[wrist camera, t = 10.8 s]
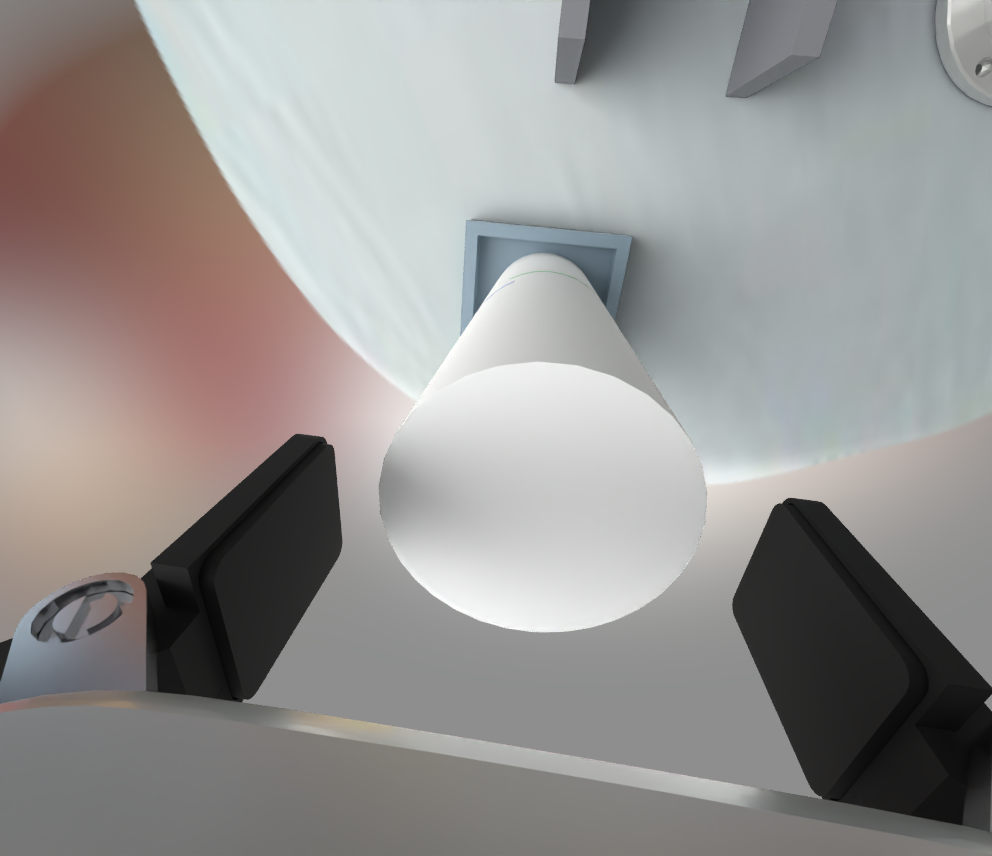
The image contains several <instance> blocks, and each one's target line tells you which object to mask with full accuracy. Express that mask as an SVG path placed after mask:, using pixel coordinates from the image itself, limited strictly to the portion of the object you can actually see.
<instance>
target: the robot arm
mask: <svg viewBox="0 0 992 856" xmlns="http://www.w3.org/2000/svg"><path fill="white" fill-rule="evenodd" d="M935 26H936V42H937V46H938V50H939V53H940V57H941V60H942V64H943V66H944V68H945V69H946V71H947V73H948V74H949V76H950V78H951V79H952V81H953V83H954V84H955V85H957V86H958V87H959V88H960V89H961V90H962V91H963V92H964V93H965V94H966V95H967V96H969V97H971V98H973V99H975V100H977V101H979V102H981V103H983V104H985V105H989V106H992V0H937V4H936V13H935ZM341 548H342V533H341V520H340V509H339V498H338V487H337V475H336V465H335V453H334V448H333V446H332V445H329V444H327V442H326V440H325V438H323V437H319V436H311V435H304V434H295V435H294V436H292V437H291V438H290V439H289V440H288V441H287V442H286V443H284V445H282V446H281V447H280V448H279V449H278V450H277V451H276V452H274V453H273V454H272V455H271V456H270V457H269V458H268V459H267V460H265V461H264V462H263V463H262V464H261V465H260V466H259V467H258V468H256V469H255V470H254V471H253V472H252V473H251V474H250V475H249V476H247V477H246V478H245V479H244V480H243V481H242V482H241V483H240V484H238V486H236V487H235V488H234V489H233V490H232V491H231V492H229V493H228V494H227V495H226V496H225V497H224V498H223V499H222V500H220V501H219V502H218V503H217V504H216V505H215V506H214V507H213V508H212V509H210V510H209V511H208V512H207V513H206V514H205V515H204V516H203V517H201V518H200V519H199V520H198V521H197V522H196V523H195V524H194V525H192V526H191V527H190V528H189V529H188V530H187V531H186V532H185V533H184V534H183V535H181V536H180V537H179V538H178V539H177V540H176V541H175V542H174V543H172V544H171V545H170V546H169V547H168V548H167V549H165V550H164V551H163V552H162V553H161V554H160V555H159V556H158V557H157V558H155V559H154V560H153V561H152V562H151V566H152V569H151V570H150V571H148V572H147V573H146V574H145V575H144V576H143V577H142V578H141V579H140V578H138V577H137V576H135V575H131V574H127V573H105V574H100V575H95V576H90V577H87V578H84V579H81V580H78V581H76V582H73V583H70V584H68V585H66V586H64V587H62V588H60V589H58V590H56V591H54V592H53V593H51V594H49V595H48V596H46V597H45V598H44V599H42V600H41V601H39V602H38V603H37V604H35V605H34V606H33V607H32V608H31V609H30V610H29V611H28V612H27V613H26V614H25V615H24V616H23V617H22V619H21V621H20V623H19V625H18V626H17V628H16V630H15V633H14V637H13V638H12V639H9V640H7V641H4V642H1V643H0V856H992V711H991V710H990V709H989V708H988V707H987V706H986V704H985V703H984V702H985V701H986V700H987V699H988V698H989V697H990V695H991V694H992V687H991V686H990V685H989V684H988V683H987V682H986V681H985V680H984V679H983V677H982V676H981V675H980V674H979V673H978V672H977V671H976V670H975V669H974V667H973V666H972V665H971V664H970V663H969V662H968V661H967V660H966V659H965V658H964V657H963V655H962V654H961V653H960V652H959V651H958V650H957V649H956V648H955V647H954V646H953V645H952V643H951V642H950V641H949V640H948V639H947V638H946V637H945V636H944V635H943V634H942V632H941V631H940V630H939V629H938V628H937V627H936V626H935V625H934V624H933V623H932V621H931V620H929V618H928V617H927V616H926V615H925V614H924V613H923V612H922V610H921V609H920V608H919V607H918V606H917V605H916V604H915V603H914V602H913V601H912V600H911V598H910V597H909V596H908V595H907V594H906V593H905V592H904V591H903V590H902V588H901V587H900V586H899V585H898V584H897V583H896V582H895V581H894V580H893V579H892V578H891V576H890V575H889V574H888V573H887V572H886V571H885V570H884V569H883V568H882V567H881V565H880V564H879V563H878V562H877V561H876V560H875V559H874V558H873V557H872V556H871V554H869V552H868V551H867V550H866V549H865V548H864V547H863V546H862V545H861V544H860V542H859V541H858V540H857V539H856V538H855V537H854V536H853V535H852V534H851V533H850V531H849V530H848V529H847V528H846V527H845V526H844V525H843V524H842V523H841V522H840V520H839V519H838V518H837V517H836V516H835V515H834V514H833V513H832V512H831V511H830V509H829V508H828V507H827V506H826V505H825V504H823V503H822V502H818V501H811V500H803V499H796V498H788V499H786V500H785V501H784V502H783V503H782V504H777V505H776V506H774V508H773V510H772V512H771V514H770V516H769V519H768V521H767V523H766V525H765V528H764V530H763V533H762V535H761V537H760V539H759V541H758V544H757V546H756V548H755V550H754V552H753V555H752V557H751V559H750V562H749V564H748V566H747V568H746V570H745V573H744V575H743V577H742V579H741V582H740V584H739V586H738V589H737V591H736V593H735V596H734V598H733V605H732V606H733V613H734V616H735V619H736V621H737V623H738V626H739V628H740V630H741V632H742V635H743V637H744V639H745V641H746V644H747V645H748V648H749V650H750V652H751V655H752V657H753V659H754V662H755V664H756V666H757V668H758V671H759V673H760V675H761V677H762V680H763V682H764V684H765V686H766V689H767V691H768V693H769V695H770V698H771V700H772V702H773V704H774V707H775V709H776V711H777V713H778V716H779V718H780V720H781V722H782V725H783V727H784V729H785V732H786V734H787V736H788V738H789V741H790V743H791V745H792V747H793V750H794V752H795V754H796V756H797V759H798V761H799V763H800V765H801V768H802V770H803V772H804V774H805V777H806V779H807V781H808V783H809V785H810V787H811V789H812V790H813V791H814V792H815V793H816V794H817V795H819V796H822V799H818V798H812V797H807V796H801V795H795V794H789V793H783V792H778V791H772V790H766V789H761V788H755V787H749V786H744V785H738V784H732V783H726V782H721V781H715V780H709V779H703V778H698V777H692V776H686V775H681V774H675V773H669V772H663V771H658V770H652V769H646V768H640V767H633V766H628V765H622V764H616V763H610V762H605V761H599V760H593V759H587V758H580V757H575V756H569V755H563V754H557V753H551V752H545V751H539V750H534V749H528V748H522V747H515V746H510V745H504V744H498V743H492V742H486V741H480V740H474V739H468V738H462V737H456V736H450V735H444V734H438V733H431V732H425V731H419V730H413V729H407V728H401V727H395V726H389V725H382V724H376V723H370V722H364V721H358V720H351V719H346V718H339V717H333V716H327V715H321V714H315V713H309V712H303V711H297V710H290V709H283V708H276V707H269V706H262V705H255V704H248V703H242V701H243V699H247V700H248V699H250V698H252V697H253V696H254V695H255V693H256V692H257V691H258V689H259V687H260V686H261V684H262V682H263V681H264V679H265V678H266V676H267V674H268V673H269V671H270V669H271V668H272V666H273V664H274V663H275V661H276V659H277V658H278V656H279V654H280V653H281V651H282V650H283V648H284V646H285V645H286V643H287V641H288V640H289V638H290V636H291V635H292V633H293V631H294V630H295V628H296V626H297V625H298V623H299V621H300V620H301V618H302V617H303V615H304V613H305V611H306V610H307V608H308V607H309V605H310V603H311V602H312V600H313V598H314V597H315V595H316V593H317V592H318V590H319V589H320V587H321V585H322V583H323V582H324V580H325V579H326V577H327V575H328V574H329V572H330V570H331V569H332V567H333V565H334V563H335V562H336V560H337V559H338V557H339V555H340V552H341Z"/></svg>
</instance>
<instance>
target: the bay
mask: <svg viewBox="0 0 992 856" xmlns="http://www.w3.org/2000/svg"><path fill="white" fill-rule="evenodd" d="M836 3H837V0H750V2H749V5H748V9H747V13H746V17H745V21H744V25H743V29H742V33H741V37H740V41H739V45H738V49H737V53H736V57H735V61H734V65H733V69H732V73H731V77H730V80H729V84H728V88H727V92H726V96H727V97H739V98H747V97H749V96H751V95H752V94H754V93H756V92H758V91H760V90H761V89H763V88H765V87H767V86H768V85H770V84H772V83H774V82H776V81H777V80H779V79H781V78H783V77H785V76H786V75H788V74H790V73H792V72H794V71H795V70H797V69H799V68H801V67H803V66H804V65H806V64H808V63H810V62H811V61H813V60H815V59H817V58H819V57H820V54H821V51H822V47H823V44H824V41H825V38H826V35H827V32H828V29H829V25H830V22H831V19H832V16H833V13H834V10H835V7H836ZM589 6H590V0H562V8H561V17H560V26H559V34H558V46H557V59H556V71H555V83H566V84H575V79H576V75H577V71H578V67H579V62H580V58H581V54H582V50H583V46H584V41H585V35H586V28H587V21H588V13H589Z"/></svg>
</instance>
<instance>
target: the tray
mask: <svg viewBox="0 0 992 856" xmlns="http://www.w3.org/2000/svg"><path fill="white" fill-rule="evenodd" d="M631 241H632V236H628V235H623V234H613V233H602V232H592V231H582V230H571V229H561V228H551V227H540V226H530V225H520V224H509V223H499V222H489V221H479V220H466V234H465V253H464V273H463V292H462V312H461V332H460V336H461V335H462V333H463V332H464V330H465V329H466V327H467V326H468V324H469V323H470V321H471V320H472V318H473V317H474V315H475V314H476V312H477V311H478V309H479V308H480V306H481V305H482V303H483V302H484V300H485V299H486V297H487V296H488V294H489V293H490V291H491V290H492V288H493V287H494V285H495V284H496V282H497V281H498V279H499V278H500V276H501V275H502V274H503V272H504V271H505V270H506V268H508V267H509V266H510V265H511V264H512V263H513V262H515V261H516V260H518V259H520V258H521V257H524V256H526V255H529V254H533V253H540V252H546V253H554V254H558V255H561V256H564V257H565V258H567V259H569V260H571V261H572V262H573V263H575V264H576V265H577V266H578V267H579V268H580V269H581V271H582V272H583V273H584V275H585V276H586V278H587V279H588V281H589V282H590V284H591V285H592V287H593V289H594V290H595V292H596V293H597V295H598V296H599V298H600V299H601V301H602V303H603V304H604V306H605V307H606V309H607V310H608V312H609V314H610V315H611V317H612V318H613V320H614V321H615V320H616V315H617V310H618V305H619V300H620V295H621V290H622V285H623V280H624V275H625V270H626V265H627V260H628V256H629V251H630V246H631Z"/></svg>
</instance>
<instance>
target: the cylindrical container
mask: <svg viewBox="0 0 992 856" xmlns="http://www.w3.org/2000/svg"><path fill="white" fill-rule="evenodd" d="M379 497H380V514H381V517H382V520H383V524H384V527H385V531H386V534H387V537H388V540H389V541H390V543H391V545H392V547H393V549H394V551H395V553H396V554H397V556H398V558H399V560H400V561H401V563H402V564H403V565H404V566H405V568H406V569H407V570H408V571H409V572H410V574H411V575H412V576H413V577H414V579H415V580H416V581H418V582H419V583H420V584H421V585H422V586H423V587H424V588H425V589H427V590H428V591H429V592H430V593H431V594H432V595H434V596H435V597H437V598H438V599H440V600H441V601H443V602H444V603H446V604H447V605H449V606H450V607H452V608H454V609H455V610H457V611H460V612H462V613H464V614H466V615H469V616H471V617H473V618H475V619H478V620H480V621H483V622H487V623H490V624H493V625H498V626H501V627H504V628H508V629H517V630H524V631H532V632H566V631H572V630H578V629H584V628H591V627H595V626H598V625H601V624H604V623H608V622H610V621H614V620H617V619H619V618H621V617H623V616H625V615H627V614H629V613H632V612H634V611H636V610H638V609H640V608H641V607H642V606H644V605H646V604H647V603H648V602H650V601H651V600H653V599H654V598H656V597H657V596H659V595H660V594H661V593H663V591H664V590H666V588H667V587H668V586H669V585H670V584H671V583H672V582H673V581H674V580H675V579H676V578H677V577H678V576H679V575H680V574H681V573H682V571H683V570H684V568H685V567H686V565H687V563H688V562H689V560H690V559H691V557H692V556H693V554H694V552H695V551H696V549H697V546H698V543H699V540H700V537H701V534H702V531H703V528H704V525H705V520H706V507H707V489H706V484H705V478H704V473H703V468H702V465H701V462H700V460H699V458H698V456H697V453H696V451H695V449H694V447H693V444H692V442H691V440H690V439H689V437H688V435H687V434H686V432H685V431H684V429H683V428H682V426H681V425H680V423H679V421H678V420H677V418H676V417H675V415H674V414H673V412H672V410H671V409H670V407H669V406H668V404H667V403H666V401H665V400H664V398H663V396H662V395H661V393H660V392H659V390H658V389H657V387H656V385H655V384H654V382H653V381H652V379H651V378H650V376H649V374H648V373H647V371H646V370H645V368H644V367H643V365H642V364H641V362H640V360H639V359H638V357H637V356H636V354H635V353H634V351H633V349H632V348H631V346H630V345H629V343H628V342H627V340H626V339H625V337H624V335H623V334H622V332H621V331H620V329H619V328H618V326H617V324H616V323H615V321H614V320H613V318H612V317H611V315H610V314H609V312H608V310H607V309H606V307H605V306H604V304H603V303H602V301H601V299H600V298H599V296H598V295H597V293H596V292H595V290H594V289H593V287H592V285H591V284H590V282H589V281H588V279H587V278H586V276H585V275H584V273H583V272H582V271H581V269H580V268H579V267H578V266H577V265H576V264H575V263H573V262H572V261H571V260H569V259H567V258H565V257H564V256H561V255H558V254H554V253H546V252H540V253H533V254H529V255H526V256H524V257H521V258H520V259H518V260H516V261H515V262H513V263H512V264H511V265H510V266H509V267H508V268H506V270H505V271H504V272H503V274H502V275H501V276H500V278H499V279H498V281H497V282H496V284H495V285H494V287H493V288H492V290H491V291H490V293H489V294H488V296H487V297H486V299H485V300H484V302H483V303H482V305H481V306H480V308H479V309H478V311H477V312H476V314H475V315H474V317H473V318H472V320H471V321H470V323H469V324H468V326H467V327H466V329H465V330H464V332H463V333H462V335H461V336H460V338H459V339H458V341H457V342H456V344H455V345H454V347H453V348H452V350H451V351H450V353H449V354H448V356H447V357H446V359H445V360H444V362H443V363H442V365H441V366H440V368H439V369H438V371H437V372H436V374H435V375H434V377H433V378H432V380H431V381H430V383H429V384H428V386H427V387H426V389H425V390H424V392H423V393H422V395H421V396H420V398H419V399H418V401H417V402H416V404H415V405H414V407H413V408H412V410H411V411H410V413H409V414H408V416H407V417H406V419H405V420H404V422H403V423H402V425H401V426H400V428H399V429H398V431H397V432H396V434H395V437H394V439H393V441H392V443H391V445H390V447H389V449H388V451H387V454H386V456H385V458H384V462H383V467H382V472H381V478H380V483H379Z"/></svg>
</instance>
